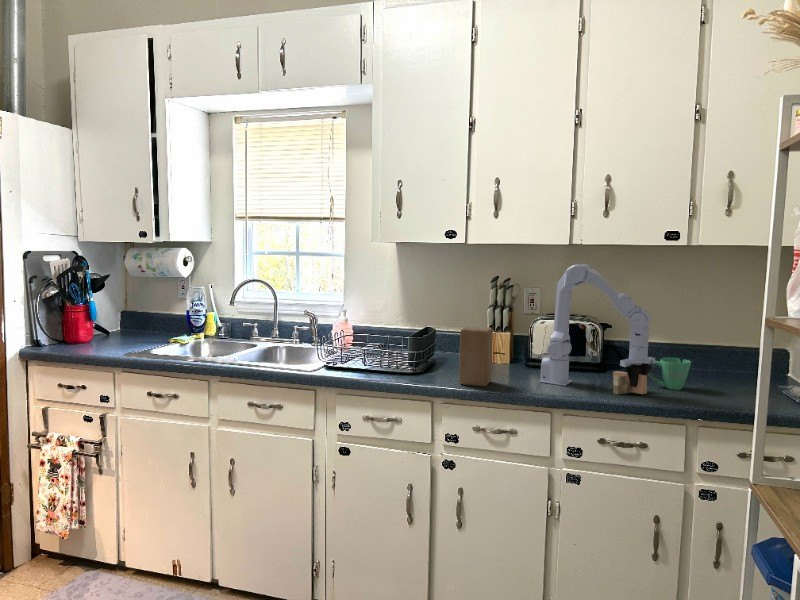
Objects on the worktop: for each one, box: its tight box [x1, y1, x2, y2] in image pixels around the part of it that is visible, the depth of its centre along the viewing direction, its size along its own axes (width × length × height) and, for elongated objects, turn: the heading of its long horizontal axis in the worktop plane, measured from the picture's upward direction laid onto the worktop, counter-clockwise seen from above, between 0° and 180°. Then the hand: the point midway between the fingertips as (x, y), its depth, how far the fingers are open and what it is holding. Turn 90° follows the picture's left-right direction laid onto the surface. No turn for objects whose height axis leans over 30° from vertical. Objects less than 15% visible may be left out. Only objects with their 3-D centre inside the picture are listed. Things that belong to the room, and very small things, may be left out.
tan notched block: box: [612, 375, 633, 395], centre depth 193 cm, size 12×2×6 cm, turn 117°
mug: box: [647, 357, 692, 391], centre depth 200 cm, size 15×10×10 cm
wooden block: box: [458, 325, 494, 388], centre depth 202 cm, size 10×10×20 cm
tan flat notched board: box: [612, 370, 648, 395], centre depth 193 cm, size 12×2×6 cm, turn 27°
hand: (636, 386), depth 190 cm, fingers closed on tan flat notched board, 2 cm apart
